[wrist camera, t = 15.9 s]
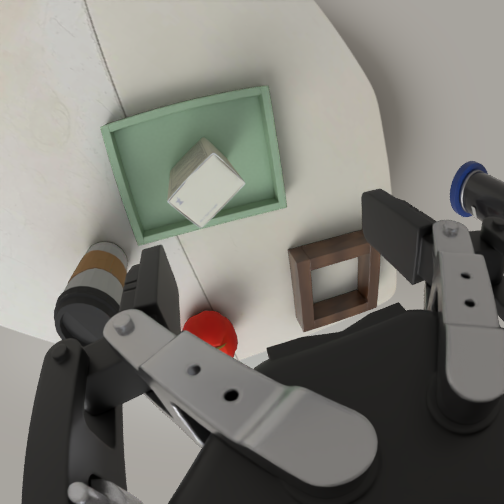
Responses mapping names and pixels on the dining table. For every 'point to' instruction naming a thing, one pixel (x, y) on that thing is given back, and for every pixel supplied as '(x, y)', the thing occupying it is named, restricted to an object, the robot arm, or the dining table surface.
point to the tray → (180, 142)
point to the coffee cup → (92, 294)
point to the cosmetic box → (202, 183)
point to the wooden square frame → (327, 255)
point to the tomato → (213, 331)
